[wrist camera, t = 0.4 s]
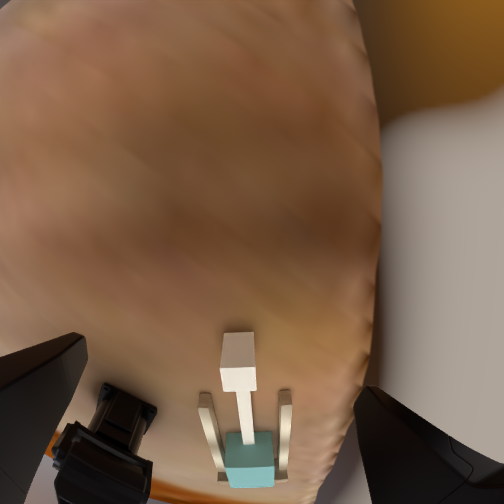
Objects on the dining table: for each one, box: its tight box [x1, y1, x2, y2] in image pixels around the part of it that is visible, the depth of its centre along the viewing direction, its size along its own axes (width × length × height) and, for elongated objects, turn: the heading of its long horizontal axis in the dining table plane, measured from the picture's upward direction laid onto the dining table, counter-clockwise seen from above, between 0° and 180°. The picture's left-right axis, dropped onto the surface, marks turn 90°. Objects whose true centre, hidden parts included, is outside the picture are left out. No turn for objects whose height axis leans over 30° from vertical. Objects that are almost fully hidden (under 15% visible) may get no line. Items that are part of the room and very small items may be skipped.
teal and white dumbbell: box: [220, 332, 274, 488], centre depth 22 cm, size 20×5×5 cm, turn 3°
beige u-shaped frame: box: [198, 390, 292, 484], centre depth 24 cm, size 15×9×4 cm, turn 3°
